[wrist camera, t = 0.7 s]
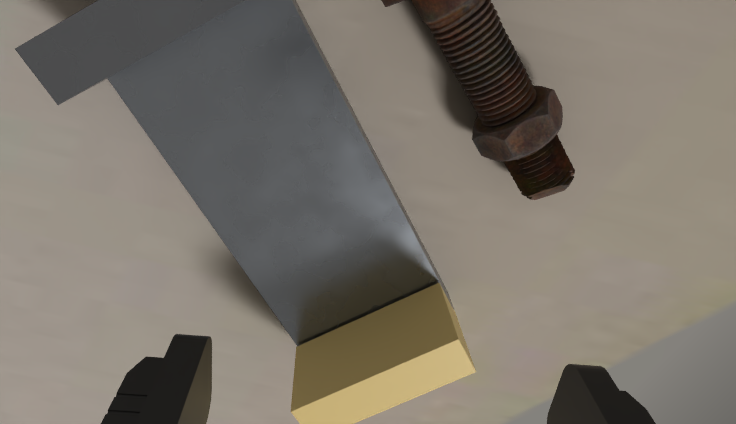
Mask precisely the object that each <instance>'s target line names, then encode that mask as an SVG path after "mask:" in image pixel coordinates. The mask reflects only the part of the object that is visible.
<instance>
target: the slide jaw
mask: <svg viewBox="0 0 736 424" xmlns="http://www.w3.org/2000/svg"><path fill="white" fill-rule="evenodd" d="M475 372H476V370H475V367H474V365H473V362H472V359H471V356H470V353H469V350H468V348H467V345H466V342H465V339H464V336H463V333H462V331H461V328H460V325H459V322H458V319H457V316H456V314H455V311H454V309H453V307H452V306H451V304H450V302H449V300H448V298H447V296H446V294H445V292H444V290H443V288H442V286H441V285H440V283H437V284H435V285H433V286H430V287H428V288H426V289H424V290H422V291H419V292H417V293H415V294H413V295H410V296H408V297H406V298H404V299H402V300H399V301H397V302H395V303H393V304H390V305H388V306H386V307H384V308H382V309H379V310H377V311H375V312H373V313H371V314H368V315H366V316H364V317H362V318H359V319H357V320H355V321H353V322H351V323H348V324H346V325H344V326H342V327H339V328H337V329H335V330H333V331H331V332H328V333H326V334H324V335H322V336H319V337H317V338H315V339H313V340H311V341H308V342H306V343H304V344H302V345H300V346H297V347H296V358H295V369H294V381H293V392H292V404H291V413H292V414H293V415H294V417H295V418H296V419H297V420H298V422H299V423H300V424H354V423H356V422H359V421H361V420H363V419H366V418H368V417H370V416H373V415H375V414H378V413H380V412H382V411H385V410H387V409H389V408H392V407H394V406H396V405H399V404H401V403H404V402H406V401H408V400H411V399H413V398H415V397H418V396H420V395H423V394H425V393H427V392H430V391H432V390H434V389H437V388H439V387H442V386H444V385H446V384H449V383H451V382H453V381H456V380H458V379H460V378H463V377H465V376H468V375H470V374H472V373H475Z"/></svg>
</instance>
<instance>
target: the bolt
mask: <svg viewBox="0 0 736 424" xmlns="http://www.w3.org/2000/svg"><path fill="white" fill-rule="evenodd" d="M401 1H404V0H382V2H383V4H384V5H385V7H388V6H391V5H393V4H396V3H399V2H401ZM411 1H412V2H413V4H414V6H415V8H416V9H417V11H418V13H419V15H420V17H421V18H422V20H423V22H424V23H426V24H427V26H428V27H429V28H431V29H430V30H431V32H432V33H434V38H435V39H437V43H438V45H440V49H441V50H443V51H444V52H443V54H444V55H445V56H447V58H446V59H447V61H448V62H450V67H451V68H453V69H452V70H453V73H455V74H456V78H458V79H459V80H458V81H459V82H460V84H462V85H461V86H462V88H463V89H465V93H466V94H467V97H468V98H469V100H470V102H471V103H472V105H473V107H474V109H475V110H476V113H477V114H478V115H479V116H478V117H477V119H476V120H475V122H474V127H473V136H472V140H473V142H474V144H475V145H476V147H477V149H478V151H479V152H480V154H481V155H482V156H484V157H486V158H489V159H492V160H495V161H503V162H504V163H505V165H506V167H507V168H508V171H509V172H510V174H511V176H513V180H514V181H515V182H516V184H517V186H518V189H519V190H520V191H522V192H521V194H522V195H524V196H527V198H529V199H531V200H537V199H540V198H543V197H546V196H549V195H552V194H555V193H558V192H561V191H564V190H565V189H566V188H567V187H568V186H569V185H570V183H571V182H572V180H573V178H574V176H573V175H574V173H575V169H574V168H573V166H572V164H571V162H570V160H569V158H568V156H567V155H566V152H565V150H564V149H563V146H562V144H561V142H560V140H559V138H558V135H557V133H558V131H559V130H560V128H561V125H562V117H563V115H562V106H561V103H560V101H559V99H558V97H557V95H556V93H555V91H554V90H553V89H549V88H546V87H542V86H533V85H532V84H531V80H530V79H529V78H528V77H529V76H528V74H527V73H526V70H525V68H524V67H523V64H522V62H520V58H519V56H518V55H517V52H516V51H515V49H514V46H513V45H512V43H511V40H510V39H509V38H508V35H507V34H506V33H505V29H504V28H503V26H502V23H501V22H500V17H499V16H498V15H497V11H496V10H495V9H494V5H493V3H491V0H411Z"/></svg>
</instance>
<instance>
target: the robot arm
mask: <svg viewBox="0 0 736 424" xmlns="http://www.w3.org/2000/svg"><path fill="white" fill-rule="evenodd" d="M211 391H212V340H211V337H209V336H195V335H182V334H176V335H174V337H173V339H172V341H171V343H170V346H169V348H168V350H167V352H166V355H165V357H164V358H158V357H145V358H144V359H143V360H142V361H140V362H139V363H138V364H137V365H136V366H135V367H134V368H132V369H131V370H130V371H129V372H128V373H127V374H126V376H125V378H124V380H123V382H122V384H121V386H120V388H119V390H118V392H117V395H116V397H114V399H113V401H112V403H111V405H110V407H109V409H108V413H107V414H106V415H105V417H104V419H103V421H102V423H101V424H206V422H207V418H208V414H209V409H210V402H211ZM547 424H656V423H655V422H654V420H653V419H652V417H651V416H650V414H649V413H648V411H647V410H646V409H645V408H644V407H643V406H642V405H641V404H640V403H639V402H637V401H636V400H635V399H634V398H633V397H632V396H631V395H630V394H629V393H627V392H626V391H619V389H618V388H617V386H616V384H615V383H614V381H613V380H612V378H611V377H610V375H609V373H608V372H607V370H606V369H605V368H603V367H601V366H590V365H576V364H568V365H567V366H566V367H565V368H564V370H563V373H562V376H561V378H560V381H559V384H558V387H557V390H556V393H555V395H554V398H553V401H552V404H551V407H550V409H549V412H548V417H547Z"/></svg>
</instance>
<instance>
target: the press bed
mask: <svg viewBox="0 0 736 424" xmlns="http://www.w3.org/2000/svg"><path fill="white" fill-rule="evenodd" d="M15 50H16V51H17V52H18V54H19V55H20V56H21V58H22V59H23V60H24V62H25V63H26V64H27V65H28V67H29V68H30V69H31V71H32V72H33V73H34V75H35V76H36V77H37V78H38V80H39V81H40V82H41V84H42V85H43V86H44V88H45V89H46V90H47V92H48V93H49V94H50V95H51V97H52V98H53V99H54V101H55V102H56V103H57V105H59V104H61V103H63V102H65V101H66V100H68V99H70V98H72V97H74V96H76V95H78V94H79V93H81V92H83V91H85V90H87V89H89V88H91V87H92V86H94V85H96V84H98V83H100V82H102V81H104V80H105V79H107V78H108V80H109V81H110V83H111V84H112V85H113V87H114V88H115V90H116V91H117V92H118V94H119V95H120V97H121V98H122V99H123V101H124V102H125V104H126V105H127V107H128V108H129V109H130V111H131V112H132V114H133V115H134V116H135V118H136V119H137V121H138V122H139V123H140V125H141V126H142V128H143V129H144V130H145V132H146V133H147V135H148V136H149V138H150V139H151V140H152V142H153V143H154V145H155V146H156V147H157V149H158V150H159V152H160V153H161V154H162V156H163V157H164V159H165V160H166V162H167V163H168V164H169V166H170V167H171V169H172V170H173V171H174V173H175V174H176V176H177V177H178V178H179V180H180V181H181V183H182V184H183V185H184V187H185V188H186V190H187V191H188V193H189V194H190V195H191V197H192V198H193V200H194V201H195V202H196V204H197V205H198V207H199V208H200V209H201V211H202V212H203V214H204V215H205V216H206V218H207V219H208V221H209V222H210V224H211V225H212V226H213V228H214V229H215V231H216V232H217V233H218V235H219V236H220V238H221V239H222V240H223V242H224V243H225V245H226V246H227V247H228V249H229V250H230V252H231V253H232V255H233V256H234V257H235V259H236V260H237V262H238V263H239V264H240V266H241V267H242V269H243V270H244V271H245V273H246V274H247V276H248V277H249V278H250V280H251V281H252V283H253V284H254V286H255V287H256V288H257V290H258V291H259V293H260V294H261V295H262V297H263V298H264V300H265V301H266V302H267V304H268V305H269V307H270V308H271V310H272V311H273V312H274V314H275V315H276V317H277V318H278V319H279V321H280V322H281V324H282V325H283V326H284V328H285V329H286V331H287V332H288V333H289V335H290V336H291V338H292V339H293V341H294V342H295V343H296V345H297V346H300V345H302V344H304V343H306V342H308V341H311V340H313V339H315V338H317V337H319V336H322V335H324V334H326V333H328V332H331V331H333V330H335V329H337V328H339V327H342V326H344V325H346V324H348V323H351V322H353V321H355V320H357V319H359V318H362V317H364V316H366V315H368V314H371V313H373V312H375V311H377V310H379V309H382V308H384V307H386V306H388V305H390V304H393V303H395V302H397V301H399V300H402V299H404V298H406V297H408V296H410V295H413V294H415V293H417V292H419V291H422V290H424V289H426V288H428V287H430V286H433V285H435V284H437V283H440V285H441V286H442V288H443V290H444V292H445V294H446V296H447V298H448V300H449V302H450V304H451V306H452V307H453V305H452V302H451V299H450V297H449V294H448V292H447V290H446V288H445V286H444V284H443V282H442V280H441V278H440V276H439V274H438V272H437V270H436V269H435V267H434V265H433V263H432V261H431V259H430V257H429V255H428V253H427V251H426V249H425V247H424V246H423V244H422V242H421V240H420V238H419V236H418V234H417V232H416V230H415V228H414V226H413V224H412V223H411V221H410V219H409V217H408V215H407V213H406V211H405V209H404V207H403V205H402V203H401V201H400V200H399V198H398V196H397V194H396V192H395V190H394V188H393V186H392V184H391V182H390V180H389V178H388V177H387V175H386V173H385V171H384V169H383V167H382V165H381V163H380V161H379V159H378V157H377V155H376V153H375V152H374V150H373V148H372V146H371V144H370V142H369V140H368V138H367V136H366V134H365V132H364V130H363V129H362V127H361V125H360V123H359V121H358V119H357V117H356V115H355V113H354V111H353V109H352V107H351V106H350V104H349V102H348V100H347V98H346V96H345V94H344V92H343V90H342V88H341V86H340V84H339V83H338V81H337V79H336V77H335V75H334V73H333V71H332V69H331V67H330V65H329V63H328V61H327V60H326V58H325V56H324V54H323V52H322V50H321V48H320V46H319V44H318V42H317V40H316V38H315V37H314V35H313V33H312V31H311V29H310V27H309V25H308V23H307V21H306V19H305V17H304V15H303V14H302V12H301V10H300V8H299V6H298V4H297V2H296V0H98V1H96V2H94V3H93V4H91V5H89V6H87V7H86V8H84V9H82V10H81V11H79V12H77V13H75V14H74V15H72V16H70V17H69V18H67V19H65V20H63V21H62V22H60V23H58V24H57V25H55V26H53V27H51V28H50V29H48V30H46V31H45V32H43V33H41V34H39V35H38V36H36V37H34V38H33V39H31V40H29V41H27V42H26V43H24V44H22V45H21V46H19V47H17V48H15ZM453 309H454V308H453Z"/></svg>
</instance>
